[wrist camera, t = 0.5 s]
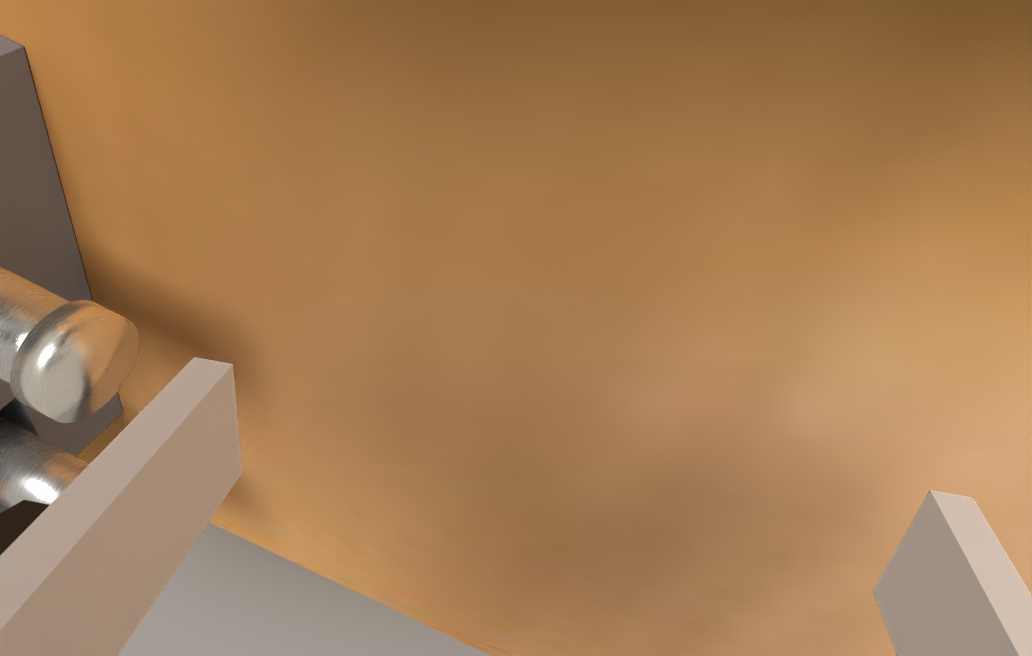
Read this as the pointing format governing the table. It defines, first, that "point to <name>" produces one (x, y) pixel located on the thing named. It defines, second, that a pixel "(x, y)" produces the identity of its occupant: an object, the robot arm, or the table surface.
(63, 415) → the silver metal peg
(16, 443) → the plug terracotta
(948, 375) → the table surface
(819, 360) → the table surface
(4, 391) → the housing
